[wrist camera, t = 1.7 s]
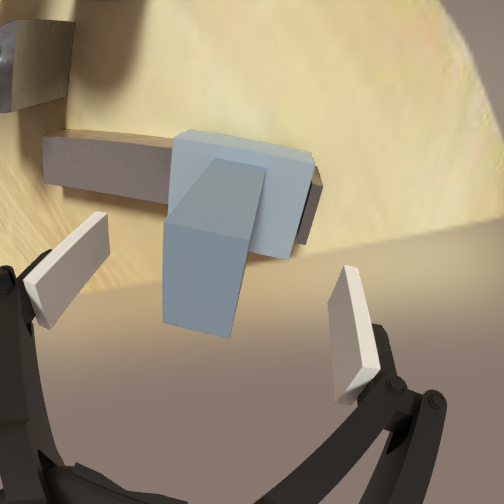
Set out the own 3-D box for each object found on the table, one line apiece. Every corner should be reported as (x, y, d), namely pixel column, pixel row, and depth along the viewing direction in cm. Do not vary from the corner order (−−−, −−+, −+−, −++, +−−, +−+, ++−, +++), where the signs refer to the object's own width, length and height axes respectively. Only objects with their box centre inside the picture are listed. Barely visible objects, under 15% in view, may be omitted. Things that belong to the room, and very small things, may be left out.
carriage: (180, 214, 28) (112, 319, 16) (189, 128, 23) (97, 188, 12) (288, 236, 28) (285, 361, 16) (311, 151, 24) (334, 235, 12)
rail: (60, 173, 28) (32, 190, 24) (59, 129, 25) (28, 141, 21) (303, 217, 28) (305, 245, 24) (317, 166, 26) (323, 186, 21)
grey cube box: (18, 99, 24) (-34, 116, 17) (23, 33, 19) (-30, 38, 12) (67, 96, 24) (11, 112, 17) (75, 22, 19) (19, 19, 13)
